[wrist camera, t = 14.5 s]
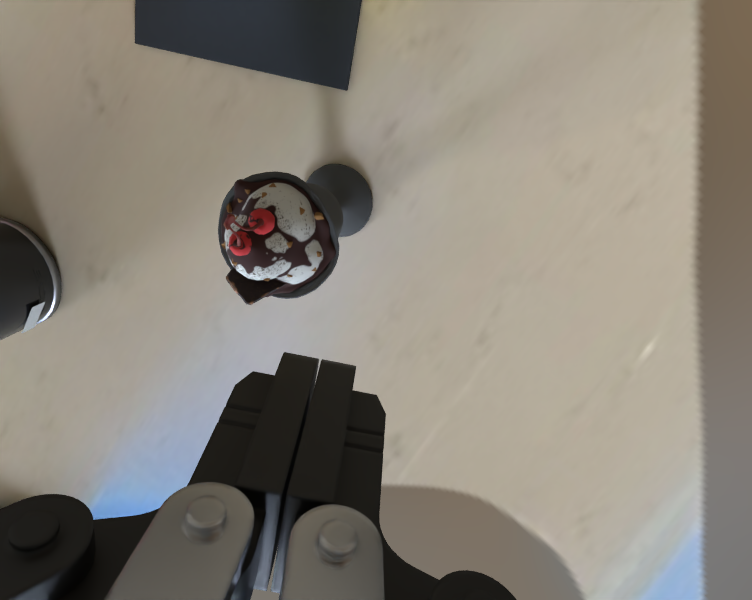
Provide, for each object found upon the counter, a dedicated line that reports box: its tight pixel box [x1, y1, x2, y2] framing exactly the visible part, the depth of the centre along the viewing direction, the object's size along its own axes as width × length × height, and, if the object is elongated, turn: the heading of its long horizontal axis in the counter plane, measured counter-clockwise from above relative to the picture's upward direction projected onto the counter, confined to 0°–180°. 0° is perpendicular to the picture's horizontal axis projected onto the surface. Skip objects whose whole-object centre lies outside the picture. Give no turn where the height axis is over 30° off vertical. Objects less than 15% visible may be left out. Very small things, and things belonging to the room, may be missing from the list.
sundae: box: [218, 164, 372, 305], centre depth 30 cm, size 7×7×15 cm
